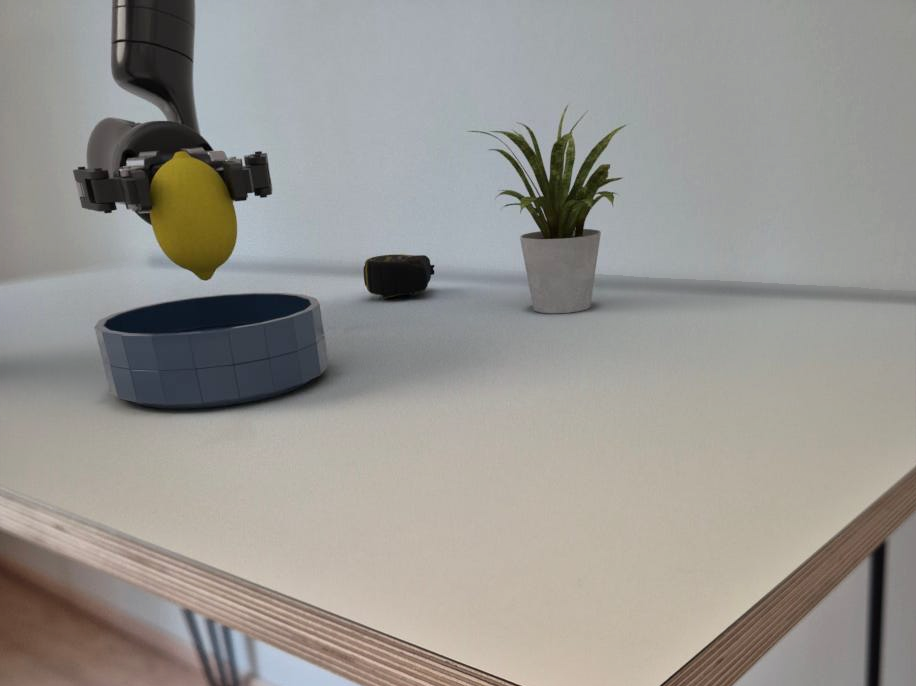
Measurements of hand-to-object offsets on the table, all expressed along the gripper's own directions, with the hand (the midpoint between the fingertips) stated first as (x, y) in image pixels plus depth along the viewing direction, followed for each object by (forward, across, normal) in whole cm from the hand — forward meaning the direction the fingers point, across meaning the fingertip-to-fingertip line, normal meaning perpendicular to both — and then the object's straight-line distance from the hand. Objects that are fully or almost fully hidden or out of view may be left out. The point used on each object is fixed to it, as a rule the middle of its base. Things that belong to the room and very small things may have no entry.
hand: (192, 187), depth 61 cm
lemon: (-3, 0, +6) cm, 7 cm away
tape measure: (-30, +22, +14) cm, 40 cm away
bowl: (-2, 0, +13) cm, 13 cm away
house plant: (-13, +30, +14) cm, 36 cm away
